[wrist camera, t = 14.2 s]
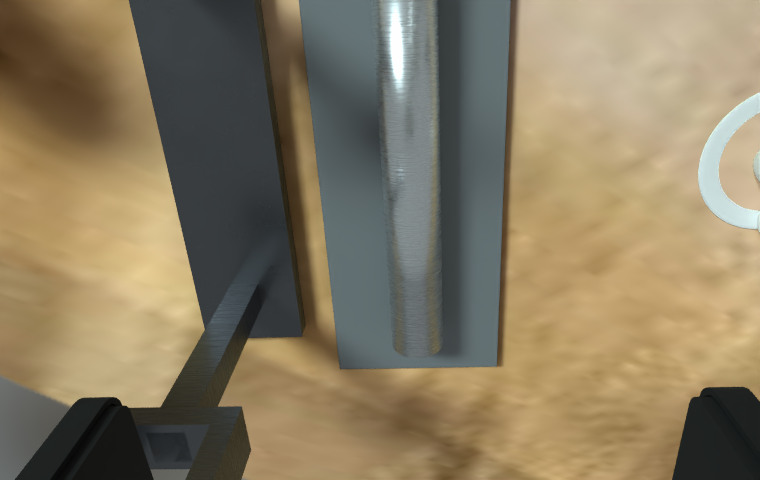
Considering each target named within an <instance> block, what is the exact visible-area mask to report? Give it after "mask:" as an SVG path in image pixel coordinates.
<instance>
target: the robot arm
mask: <svg viewBox="0 0 760 480" xmlns="http://www.w3.org/2000/svg"><path fill="white" fill-rule="evenodd" d="M15 480H153V477H152V473H151V471H150V467H149V464H148V461H147V458H146V455H145V452H144V449H143V446H142V443H141V440H140V437H139V434H138V431H137V428H136V426H135V423H134V420H133V417H132V414H131V411H130V409H129V408H128V407H127V406H122V404H121V402H120V400H119V399H117V398H114V397H100V398H81V399H79V400H77V401H76V402H75V403H74V404H73V406H72V407H71V408H70V409H69V411H68V412H67V413H66V415H65V416H64V417H63V418H62V420H61V421H60V422H59V424H58V425H57V426H56V428H55V429H54V430H53V431H52V433H51V434H50V435H49V436H48V438H47V439H46V440H45V442H44V443H43V444H42V446H41V447H40V448H39V449H38V451H37V452H36V453H35V454H34V456H33V457H32V459H31V460H30V461H29V462H28V463H27V465H26V466H25V467H24V469H23V470H22V471H21V472H20V474H19V475H18V476H17V478H16V479H15ZM672 480H760V402H759V400H758V399H757V398H756V397H755V395H754V394H753V393H752V392H751V391H750V390H749V389H747V388H745V387H708V388H704V389H703V390H702V391H701V394H700V396H699V397H693V398H692V399H691V401H690V403H689V408H688V412H687V416H686V421H685V425H684V430H683V434H682V438H681V443H680V447H679V452H678V456H677V461H676V465H675V469H674V474H673V478H672Z"/></svg>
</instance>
